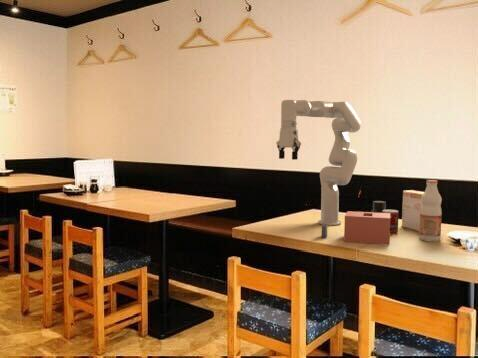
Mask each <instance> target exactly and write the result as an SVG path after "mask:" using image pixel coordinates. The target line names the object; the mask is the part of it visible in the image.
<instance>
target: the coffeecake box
mask: <svg viewBox="0 0 478 358" xmlns="http://www.w3.org/2000/svg"><path fill="white" fill-rule="evenodd" d="M424 192H425V191H420V190H414V189H410V190H407V189H406V190H403V191H402V208H401V209H402V212H401V215H402V216H401V227H404V228H407V229H410V230H414V231H417V232H419V227H420V208H421V206H422V203H421V196H422V195H423V193H424Z"/></svg>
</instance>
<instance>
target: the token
mask: <svg viewBox="0 0 478 358" xmlns="http://www.w3.org/2000/svg"><path fill="white" fill-rule="evenodd" d="M328 226H329V225H328V224H323V225H322V224H321V239H327V238H328Z"/></svg>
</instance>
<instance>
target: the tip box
mask: <svg viewBox="0 0 478 358" xmlns="http://www.w3.org/2000/svg"><path fill="white" fill-rule="evenodd" d="M343 227H344V232H343V233H344V237H343V241H344V242H345V243H359V244H375V245H389V246H390V244H391V243H390V239H391V238H390V235H391V234H390V213H373V212H371V211H370V212H369V211H349V210H348V211H346V213H345V215H344V226H343Z"/></svg>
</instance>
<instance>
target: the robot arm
mask: <svg viewBox="0 0 478 358" xmlns="http://www.w3.org/2000/svg"><path fill="white" fill-rule="evenodd" d="M280 105H281V110H280V111H281V113H280V115H281V116H280V120H281V121H280V130H279V138H278V140H277V141H276V142H275V143H276V147H277V150H278V159H281V160H282V159H285V156H286V155H285V149H286V148H291V150H292V152H291V160H292V161H293V160H298V153H299V151H300V149H301V145H302V142H301V141H300V140H299V130H298V128H297V124H298V123H297V117H308V118H309V117H310V118H327V119H328V118H329V119H333V120H332V122H331V128H332V132H333V134H334V142H333V145H332V148H331V150H330V154H329V157H328V162H329V164H330V165H331V166H330V165H329V166H324V167H323V168H321V170H320V172H319V178H320V180H319V181H320V185H321V188H320V190H321V191H320V192H321V194H320V197H321V198H320V203H321V204H320V219H319V220H318V221H317V223H318V224H319V225H321V226H322V225H323V224H328V226H338V225H341V224H342V221H341V220H339V208H340V207H339V205H340V204H339V202H340V199H339V198H340V197H339V196H340V191H339V188H338V186H346V185H348V184H349V183H350V181H351V179H352V176H353V173H354V171H355V169H356V166H357V162H358V154H357V152H356V151H355V150H354V149H350V145H351V140H350V137H349V135H348V134H349V133H352V134H353V133H358V132H359V130H360V129H361V120H360V118H359V117H358V115H357V114H356V112H355V110H354V109H353V107H352V106H351V105H350V104H349V103H348V102H347V101H324V100H323V101H322V100H311V101H307V100H305V99H301V100H295V99H283V100H282V101H281V104H280Z"/></svg>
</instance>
